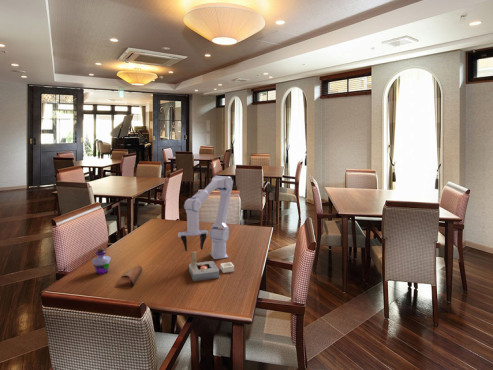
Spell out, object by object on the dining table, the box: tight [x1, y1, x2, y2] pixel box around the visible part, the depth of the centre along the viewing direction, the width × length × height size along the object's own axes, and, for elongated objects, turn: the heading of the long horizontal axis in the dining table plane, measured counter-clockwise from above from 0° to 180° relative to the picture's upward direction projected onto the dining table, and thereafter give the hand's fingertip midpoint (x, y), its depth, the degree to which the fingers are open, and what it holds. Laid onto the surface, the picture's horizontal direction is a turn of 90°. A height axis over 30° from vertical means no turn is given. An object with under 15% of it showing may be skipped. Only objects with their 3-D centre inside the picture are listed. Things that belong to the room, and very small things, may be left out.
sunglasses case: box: [114, 265, 143, 289], centre depth 155 cm, size 18×7×7 cm, turn 5°
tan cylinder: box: [190, 251, 198, 264], centre depth 168 cm, size 3×3×8 cm
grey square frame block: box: [188, 260, 220, 282], centre depth 160 cm, size 12×12×4 cm
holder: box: [219, 261, 235, 274], centre depth 165 cm, size 6×6×3 cm
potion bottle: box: [91, 247, 112, 275], centre depth 163 cm, size 9×9×12 cm
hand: (193, 249), depth 167 cm, fingers open, 7 cm apart
